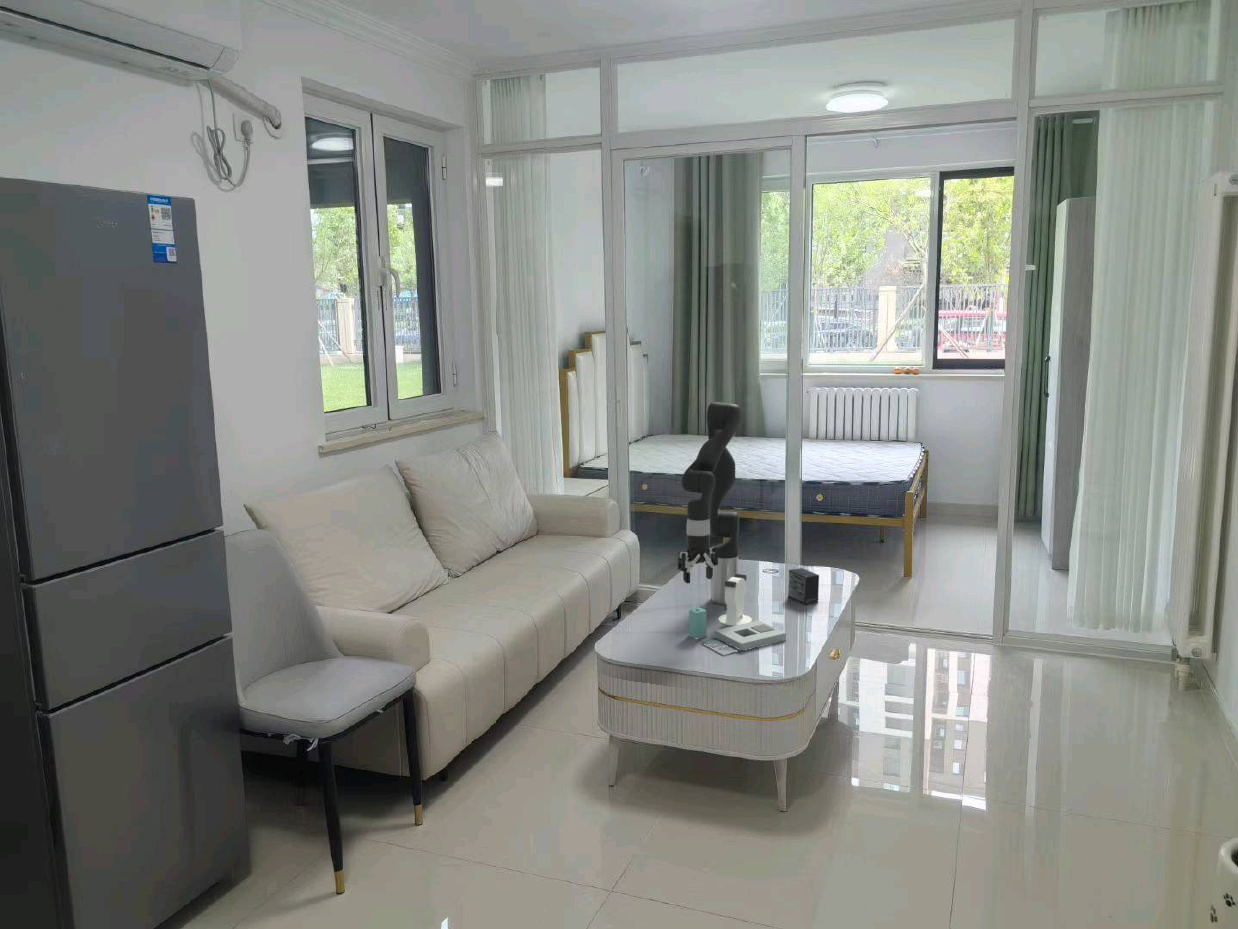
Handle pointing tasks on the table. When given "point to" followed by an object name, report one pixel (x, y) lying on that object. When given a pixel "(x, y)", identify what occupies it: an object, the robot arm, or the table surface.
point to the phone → (717, 644)
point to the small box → (803, 586)
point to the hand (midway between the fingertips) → (698, 580)
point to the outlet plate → (750, 635)
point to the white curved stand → (735, 601)
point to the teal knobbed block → (697, 622)
